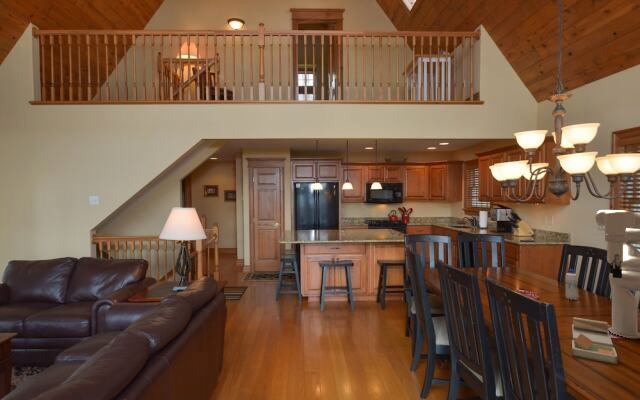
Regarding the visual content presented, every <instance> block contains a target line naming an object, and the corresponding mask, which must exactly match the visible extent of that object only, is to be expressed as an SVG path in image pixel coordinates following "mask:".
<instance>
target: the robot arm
mask: <svg viewBox="0 0 640 400" xmlns="http://www.w3.org/2000/svg"><path fill="white" fill-rule="evenodd" d="M595 222H596V224H597V225H598V226H602V227H604V242H606V243H607V245H606V246H607V248H606V249H607V250H606V252H607V253H606V260H607V263H609V275H608V279H609V284H610V291H611V326H610V327H608V330H609V331H610V332H611V333H610V332H609V331H608V332H609V333H610V334H612V333H613V334H612V335H614V334H616V335H615V336H617V335H619V336H618V337H620V336H623V337H622V338H625V337H626V339H640V332H639V331H638V300H637V297H636V296H635V295H634V294H633V292H637V293H640V251H639V249H638V248H637V247H635V246H634V245H632V244H635V245H640V212H635V211H634V212H633V211H630V210H626V209H625V210H622V209H621V210H620V209H619V210H618V209H614V210H613V209H600V210H598V211H597V212H596V214H595Z"/></svg>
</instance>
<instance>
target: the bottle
mask: <svg viewBox="0 0 640 400" xmlns="http://www.w3.org/2000/svg"><path fill="white" fill-rule="evenodd" d="M567 271H568V272H567V273H565V277H564V278H565V279H564V280H565V299H567V300H570V301H577V300H578V276H577V274H576V273H575V270H574V269H572V268H569V269H568V270H567Z"/></svg>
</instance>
